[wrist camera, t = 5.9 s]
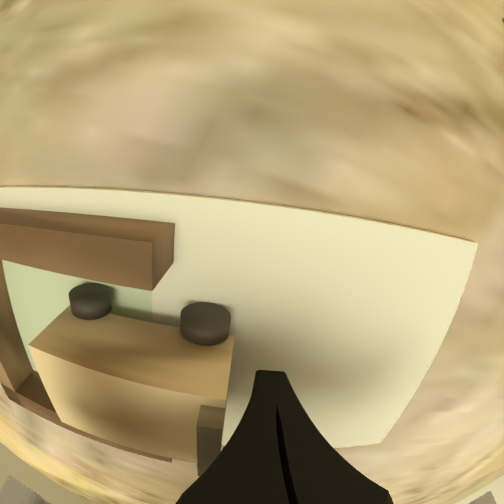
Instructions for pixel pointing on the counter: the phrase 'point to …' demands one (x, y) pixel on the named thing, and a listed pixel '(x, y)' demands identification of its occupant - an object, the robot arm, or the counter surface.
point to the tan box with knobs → (139, 375)
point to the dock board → (279, 297)
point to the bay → (77, 265)
